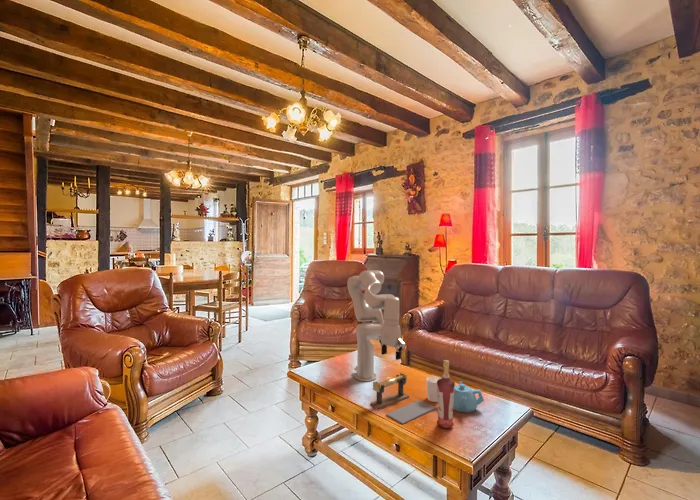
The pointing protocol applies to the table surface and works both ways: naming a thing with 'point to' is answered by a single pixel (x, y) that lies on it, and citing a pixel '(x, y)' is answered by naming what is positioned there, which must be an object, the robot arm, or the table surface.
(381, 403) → the rack
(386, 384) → the rail
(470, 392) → the teapot
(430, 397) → the white cup
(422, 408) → the mat
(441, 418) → the liquor
